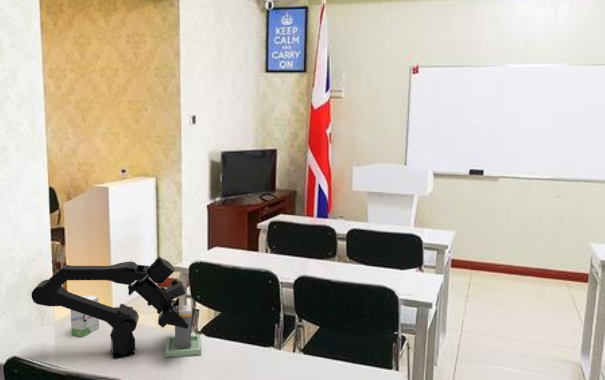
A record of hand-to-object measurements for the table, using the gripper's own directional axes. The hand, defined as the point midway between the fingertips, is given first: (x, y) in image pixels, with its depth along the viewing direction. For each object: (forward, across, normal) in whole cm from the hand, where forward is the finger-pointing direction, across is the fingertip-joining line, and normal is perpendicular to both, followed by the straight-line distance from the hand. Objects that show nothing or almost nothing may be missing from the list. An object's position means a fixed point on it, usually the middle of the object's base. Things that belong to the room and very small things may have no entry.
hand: (187, 324), depth 166 cm
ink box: (-18, +19, +31) cm, 40 cm away
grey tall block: (+4, 0, +6) cm, 7 cm away
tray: (+5, 0, +7) cm, 9 cm away
